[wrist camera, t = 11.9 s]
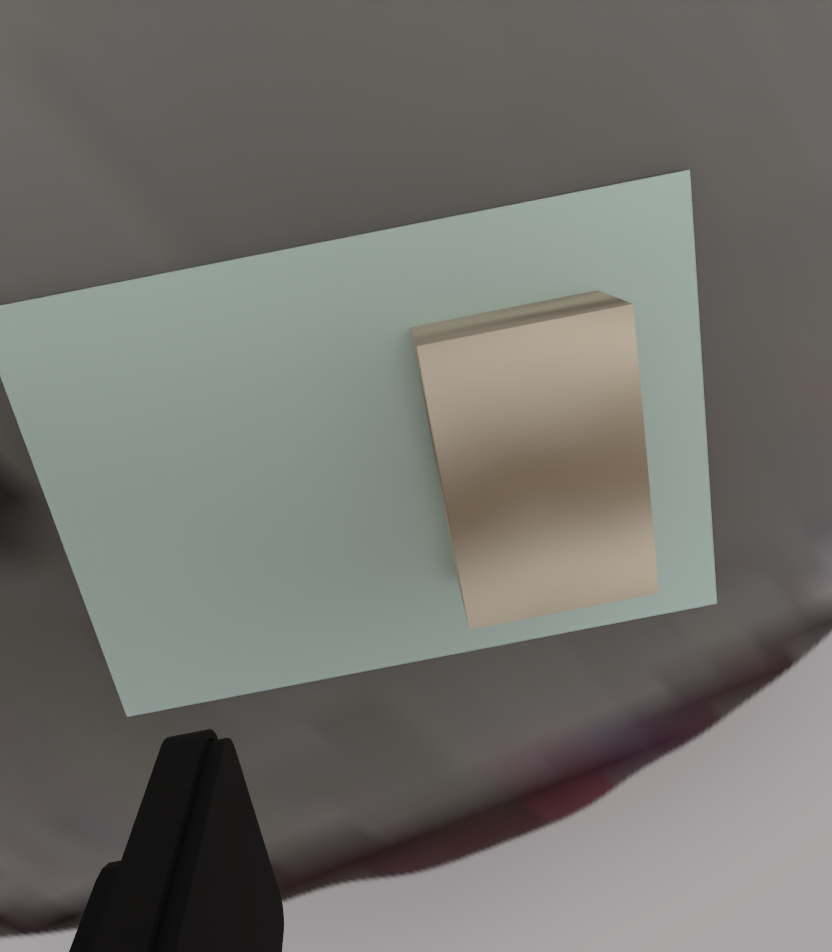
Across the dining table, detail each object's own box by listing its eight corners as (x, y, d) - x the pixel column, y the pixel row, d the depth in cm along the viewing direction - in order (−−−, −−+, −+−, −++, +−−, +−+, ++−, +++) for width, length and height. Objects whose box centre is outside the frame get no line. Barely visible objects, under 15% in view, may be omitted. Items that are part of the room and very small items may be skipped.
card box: (410, 326, 25) (416, 346, 21) (597, 290, 25) (633, 303, 21) (457, 578, 28) (469, 629, 24) (624, 546, 28) (659, 593, 24)
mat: (130, 710, 29) (127, 716, 29) (-18, 308, 24) (-24, 310, 24) (712, 598, 29) (716, 603, 29) (684, 170, 24) (689, 169, 24)
